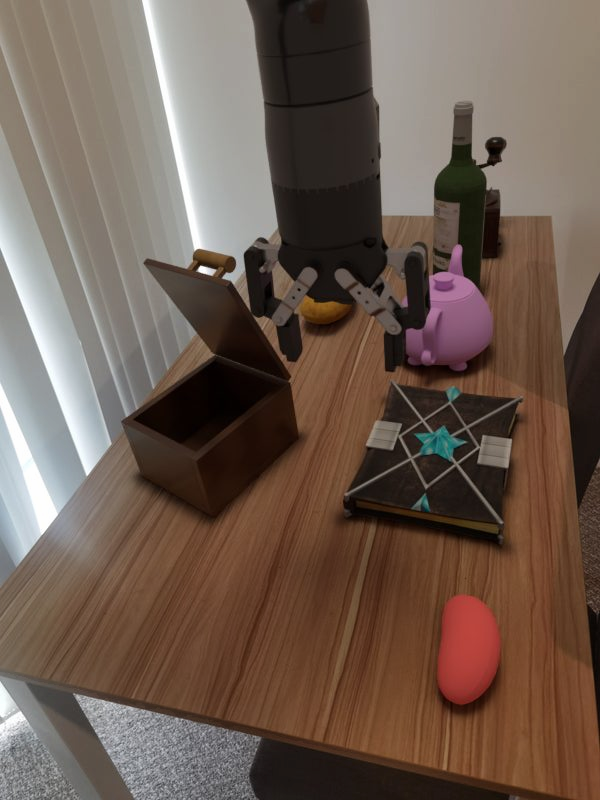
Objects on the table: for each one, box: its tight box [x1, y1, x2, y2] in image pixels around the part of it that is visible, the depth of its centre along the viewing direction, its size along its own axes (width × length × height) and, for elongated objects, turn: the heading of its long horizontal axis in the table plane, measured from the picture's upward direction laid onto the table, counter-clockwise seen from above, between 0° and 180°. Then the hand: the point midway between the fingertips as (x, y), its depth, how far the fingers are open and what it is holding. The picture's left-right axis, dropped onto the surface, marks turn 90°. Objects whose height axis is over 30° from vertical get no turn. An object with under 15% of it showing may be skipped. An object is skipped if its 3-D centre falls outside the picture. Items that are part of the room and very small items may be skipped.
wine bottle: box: [432, 100, 488, 291], centre depth 94 cm, size 8×8×30 cm
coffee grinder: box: [472, 136, 508, 259], centre depth 113 cm, size 16×11×18 cm
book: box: [342, 379, 524, 546], centre depth 70 cm, size 22×17×5 cm
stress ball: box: [436, 593, 502, 706], centre depth 51 cm, size 5×9×6 cm, turn 153°
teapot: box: [401, 245, 494, 372], centre depth 86 cm, size 20×14×12 cm
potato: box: [299, 295, 353, 325], centre depth 100 cm, size 8×14×7 cm, turn 152°
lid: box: [142, 248, 292, 382], centre depth 70 cm, size 17×13×5 cm
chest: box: [120, 354, 300, 518], centre depth 74 cm, size 16×13×9 cm
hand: (342, 361), depth 51 cm, fingers open, 8 cm apart
